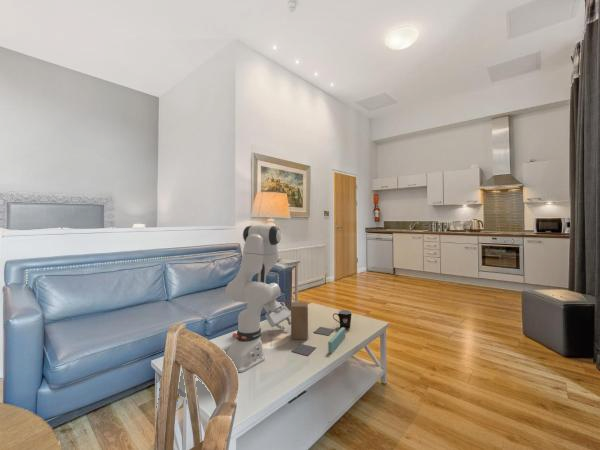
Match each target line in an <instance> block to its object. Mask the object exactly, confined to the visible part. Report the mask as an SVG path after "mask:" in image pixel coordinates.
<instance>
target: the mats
mask: <svg viewBox="0 0 600 450" xmlns="http://www.w3.org/2000/svg"><path fill="white" fill-rule="evenodd" d="M334 331H335V329H334V328H330V327H325V326H323V327H322V326H319V327H318V328H317V329H315V330H314V332H313V333H314V334H317V335H323V336H327V337H328V336H329V337H330V335H331V334H332V333H333V332H334ZM316 349H317V347H316V346H311V345H308V344H302V343H299V344H298V345H297V346H296V347H294V348H293V349H292V350H291V352H290V353H295V354H298V355H303V356H306V357H309V356H310V355H311V354H312V353H313V352H314V351H315V350H316Z"/></svg>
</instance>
